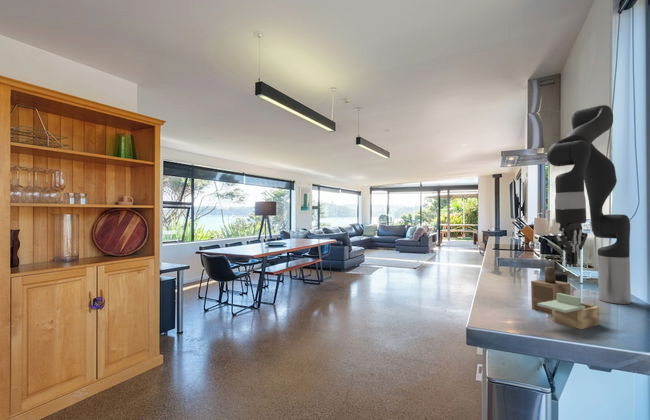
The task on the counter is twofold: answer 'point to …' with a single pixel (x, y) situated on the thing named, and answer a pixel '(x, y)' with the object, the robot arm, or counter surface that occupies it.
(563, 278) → the medicine bottle
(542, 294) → the cover
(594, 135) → the robot arm
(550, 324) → the counter surface
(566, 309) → the lid
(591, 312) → the oak box
